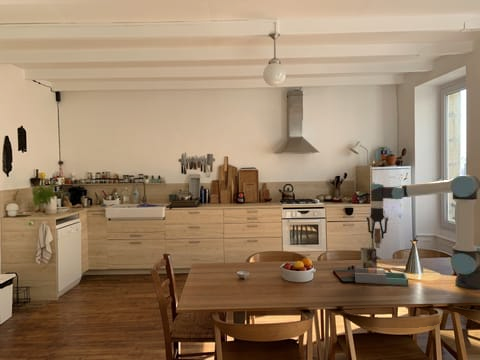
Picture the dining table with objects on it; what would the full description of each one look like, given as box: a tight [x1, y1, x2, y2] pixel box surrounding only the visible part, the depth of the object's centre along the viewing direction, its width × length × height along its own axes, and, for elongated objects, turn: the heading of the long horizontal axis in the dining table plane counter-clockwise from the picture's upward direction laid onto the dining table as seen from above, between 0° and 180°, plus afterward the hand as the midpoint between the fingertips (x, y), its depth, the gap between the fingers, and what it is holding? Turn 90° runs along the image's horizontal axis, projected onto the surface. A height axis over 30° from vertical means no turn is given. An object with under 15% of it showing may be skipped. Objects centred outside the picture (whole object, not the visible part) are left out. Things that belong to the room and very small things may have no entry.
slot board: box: [354, 267, 388, 285], centre depth 227 cm, size 18×14×6 cm
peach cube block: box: [368, 268, 375, 274], centre depth 226 cm, size 4×4×4 cm
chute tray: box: [385, 271, 409, 286], centre depth 222 cm, size 12×14×4 cm
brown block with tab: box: [373, 227, 381, 249], centre depth 233 cm, size 4×8×12 cm, turn 160°
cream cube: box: [377, 267, 385, 274], centre depth 225 cm, size 4×4×4 cm
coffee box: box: [360, 246, 378, 269], centre depth 245 cm, size 9×6×16 cm
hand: (377, 243), depth 233 cm, fingers closed on brown block with tab, 3 cm apart
